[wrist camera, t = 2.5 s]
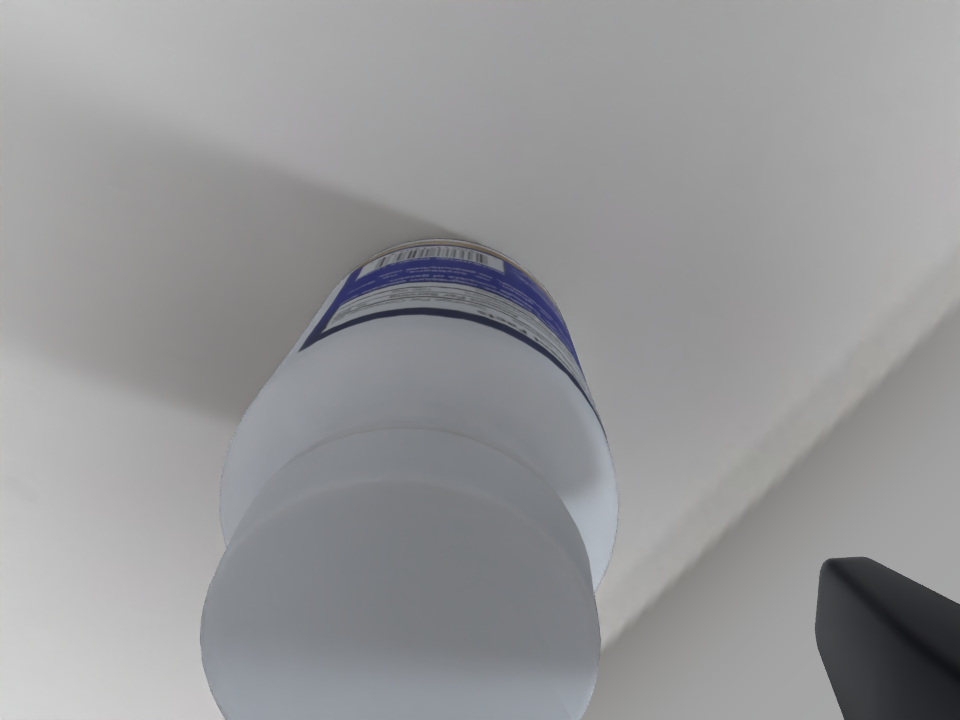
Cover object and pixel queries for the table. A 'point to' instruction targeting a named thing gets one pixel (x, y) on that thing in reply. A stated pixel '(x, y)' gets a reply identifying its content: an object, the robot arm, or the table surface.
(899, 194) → the table surface
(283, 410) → the pill bottle
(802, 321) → the table surface
